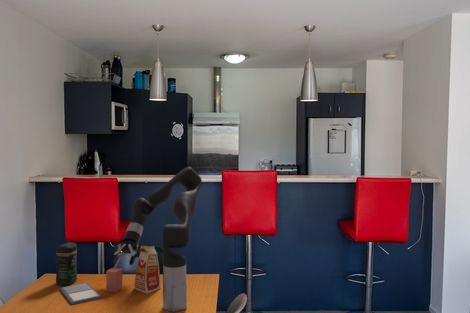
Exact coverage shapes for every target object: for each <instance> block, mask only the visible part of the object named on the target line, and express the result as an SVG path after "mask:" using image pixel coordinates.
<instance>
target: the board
mask: <svg viewBox="0 0 470 313" xmlns="http://www.w3.org/2000/svg"><path fill="white" fill-rule="evenodd" d="M59 290H60V292H61V293H62V295H64V297H65V298H66V300H68V302H69V303H70V305H76V304H81V303H82V304H83V303H86V302H90V301H94V300H95V301H96V300H100V299H102V295H101V294H100V293H99V292H98V291H97V290H96V289H95V288H94V287H93V286H92V285H91V284H90V283H89V282H85V283H80V284H73V285H70V286H69V285H67V286H63V287H60V288H59Z"/></svg>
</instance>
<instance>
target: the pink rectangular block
mask: <svg viewBox="0 0 470 313" xmlns="http://www.w3.org/2000/svg"><path fill="white" fill-rule="evenodd" d="M105 276H106V278H105V280H106V281H105V282H106V283H105V286H106V287H105V288H106V289H105V291H106V292H112V293H118V292H120V291H121V290H122V289H123V268H118V267H111V268H109V269H108V270H106V274H105Z"/></svg>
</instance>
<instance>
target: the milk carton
mask: <svg viewBox="0 0 470 313" xmlns="http://www.w3.org/2000/svg"><path fill="white" fill-rule="evenodd" d="M142 246H143V249H142V250H141V252H140V256H139V257H138V262H137V265H136V266H137V267H136V270H135V278H134V284H133V285H134V286H133V288H134V289H135V290H136V291H138V292H141V293H144V294H146V295H147V294H150V293H152V292H155V291H158V290H159V289H161V273H160V272H161V271H160V264H159V259H158V252H157V251H156V249H155V247H156V246H155V245H152V246H147V245H142Z"/></svg>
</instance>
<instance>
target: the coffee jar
mask: <svg viewBox="0 0 470 313" xmlns="http://www.w3.org/2000/svg"><path fill="white" fill-rule="evenodd" d="M55 254H56V276H55V284H56V285H59V286H69V285H72V284H73V283H75V282H76V281H77V280H78V272H77V271H78V270H77V256H78V255H77V254H78V245H77V243H76V242H71V241H70V242H69V241H68V242H66V243H64V244H60V245H58V246H57V247H56V253H55Z"/></svg>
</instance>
